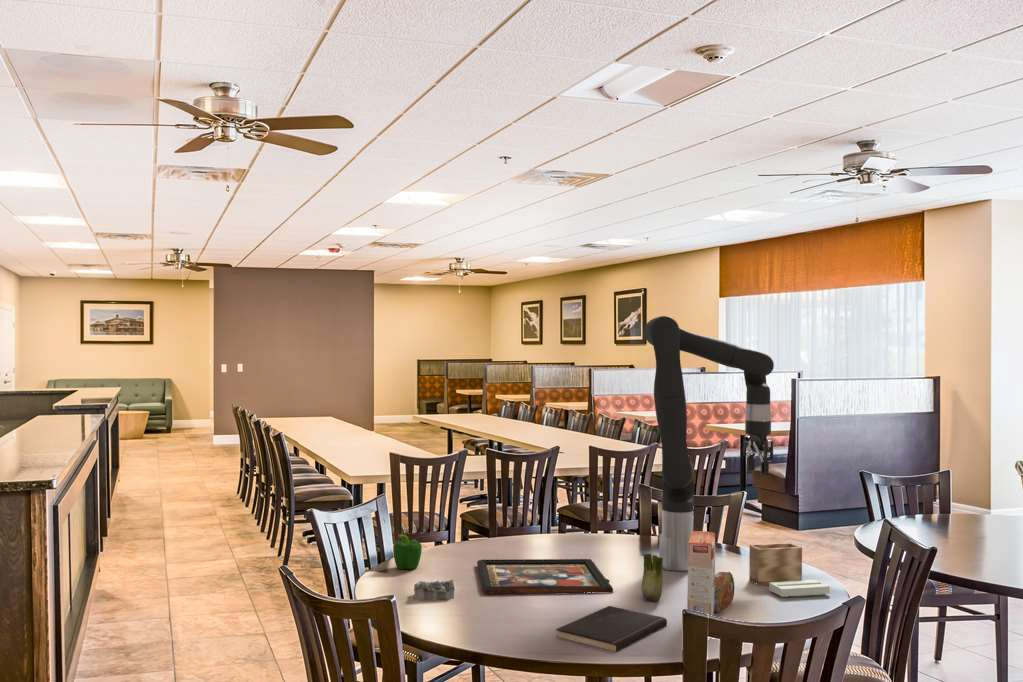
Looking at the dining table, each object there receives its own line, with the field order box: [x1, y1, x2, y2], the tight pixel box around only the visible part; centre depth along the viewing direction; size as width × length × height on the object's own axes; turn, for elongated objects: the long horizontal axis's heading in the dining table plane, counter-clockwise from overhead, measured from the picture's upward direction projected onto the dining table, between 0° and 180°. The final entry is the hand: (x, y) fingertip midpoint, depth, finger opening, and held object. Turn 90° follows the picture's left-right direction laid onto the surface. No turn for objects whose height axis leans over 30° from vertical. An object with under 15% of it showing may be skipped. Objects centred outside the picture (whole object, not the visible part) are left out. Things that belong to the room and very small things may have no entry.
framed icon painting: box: [476, 558, 614, 596], centre depth 250 cm, size 38×35×3 cm
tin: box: [714, 571, 735, 613], centre depth 223 cm, size 15×3×8 cm, turn 146°
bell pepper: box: [392, 534, 423, 570], centre depth 260 cm, size 8×8×10 cm
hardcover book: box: [555, 605, 668, 653], centre depth 204 cm, size 16×23×2 cm
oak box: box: [748, 542, 803, 586], centre depth 248 cm, size 13×6×10 cm, turn 102°
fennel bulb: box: [641, 553, 664, 602], centre depth 229 cm, size 6×5×12 cm
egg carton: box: [413, 579, 456, 601], centre depth 231 cm, size 11×8×4 cm
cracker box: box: [686, 530, 716, 616], centre depth 210 cm, size 14×6×21 cm, turn 164°
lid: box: [768, 579, 831, 598], centre depth 236 cm, size 14×7×3 cm, turn 103°
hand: (757, 472), depth 266 cm, fingers open, 8 cm apart
